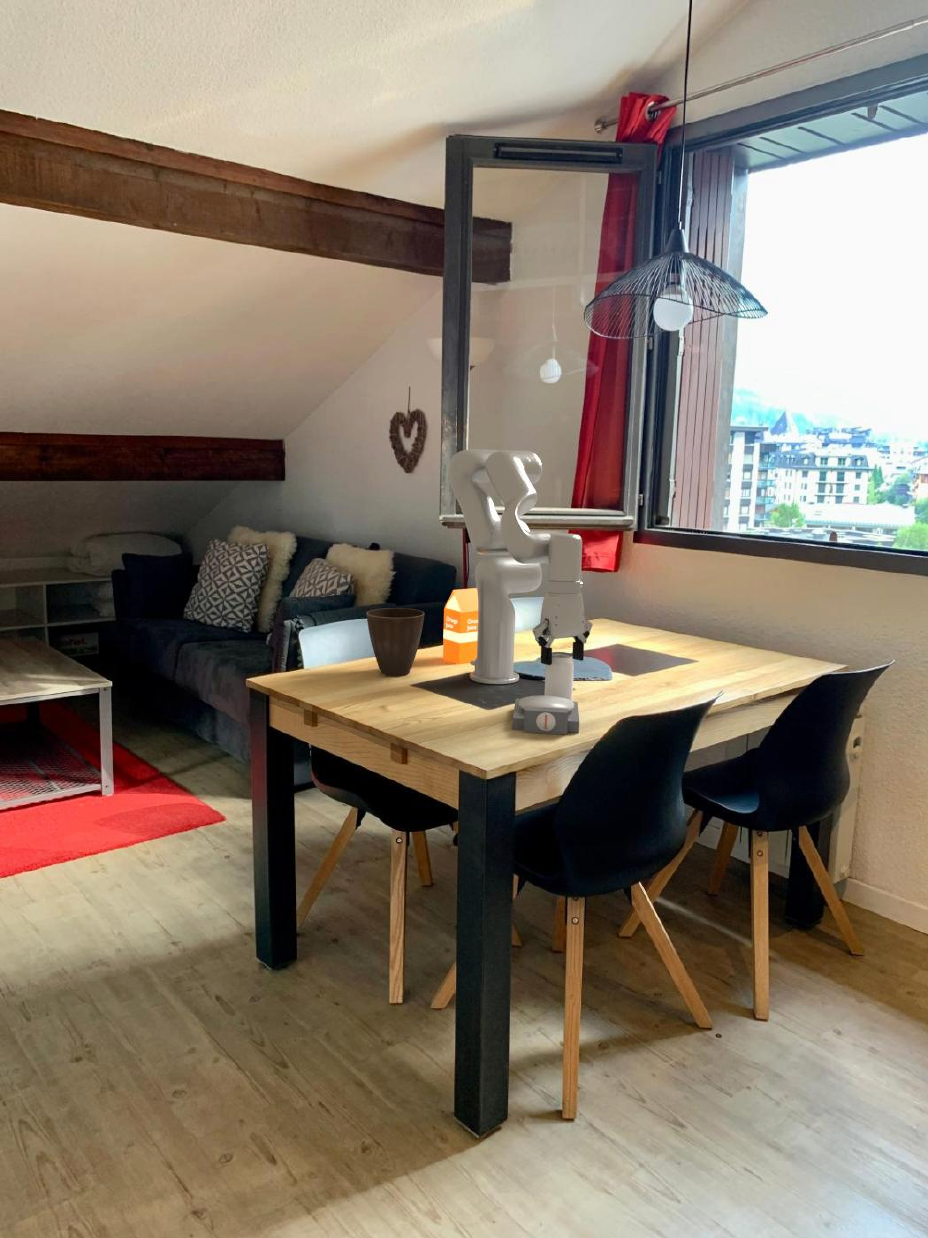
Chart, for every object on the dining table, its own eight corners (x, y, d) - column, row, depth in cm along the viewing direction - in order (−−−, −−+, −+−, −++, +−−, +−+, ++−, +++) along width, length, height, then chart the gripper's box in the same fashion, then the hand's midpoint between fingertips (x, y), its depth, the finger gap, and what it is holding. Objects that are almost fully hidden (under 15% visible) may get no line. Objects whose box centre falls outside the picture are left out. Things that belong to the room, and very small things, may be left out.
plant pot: (362, 678, 240) (362, 616, 237) (369, 665, 255) (370, 606, 252) (420, 681, 240) (422, 618, 237) (425, 667, 254) (426, 608, 252)
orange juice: (442, 659, 265) (444, 588, 262) (467, 655, 271) (469, 586, 267) (459, 664, 259) (461, 592, 256) (484, 660, 264) (486, 589, 261)
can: (569, 701, 225) (572, 651, 222) (573, 708, 218) (576, 657, 216) (542, 700, 224) (544, 651, 222) (545, 708, 218) (548, 657, 216)
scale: (515, 708, 217) (516, 688, 216) (576, 712, 215) (578, 691, 214) (511, 732, 198) (512, 710, 198) (579, 736, 197) (580, 713, 196)
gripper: (581, 584, 224) (579, 655, 227) (524, 588, 214) (522, 663, 217) (603, 587, 218) (600, 660, 221) (546, 592, 208) (544, 668, 211)
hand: (562, 661), depth 219 cm, fingers open, 9 cm apart
